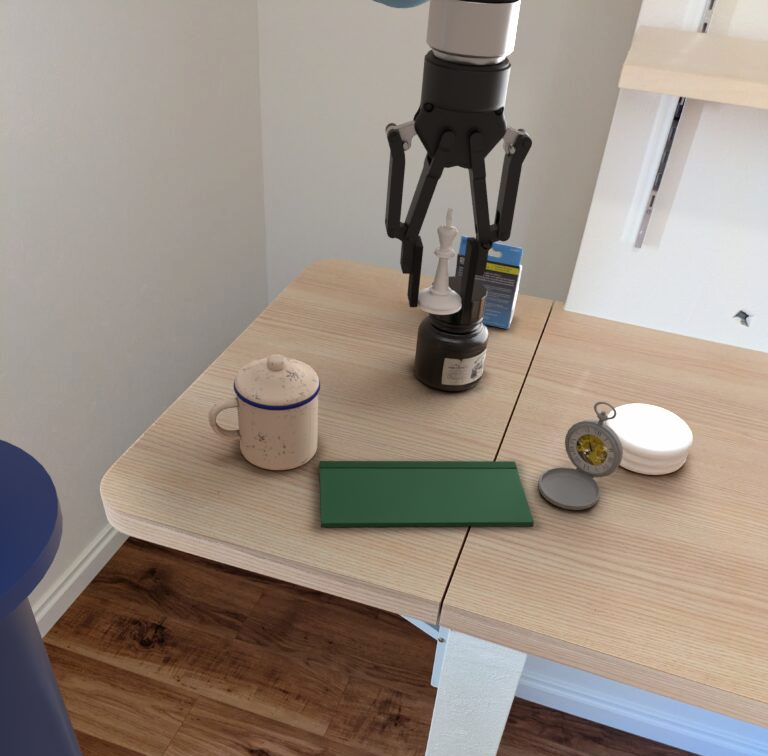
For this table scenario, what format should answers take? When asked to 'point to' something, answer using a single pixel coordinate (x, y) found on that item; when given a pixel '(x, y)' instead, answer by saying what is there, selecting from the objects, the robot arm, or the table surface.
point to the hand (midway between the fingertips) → (438, 301)
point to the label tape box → (497, 282)
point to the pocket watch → (583, 464)
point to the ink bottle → (453, 344)
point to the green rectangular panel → (422, 494)
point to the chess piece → (442, 276)
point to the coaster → (650, 438)
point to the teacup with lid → (274, 412)
